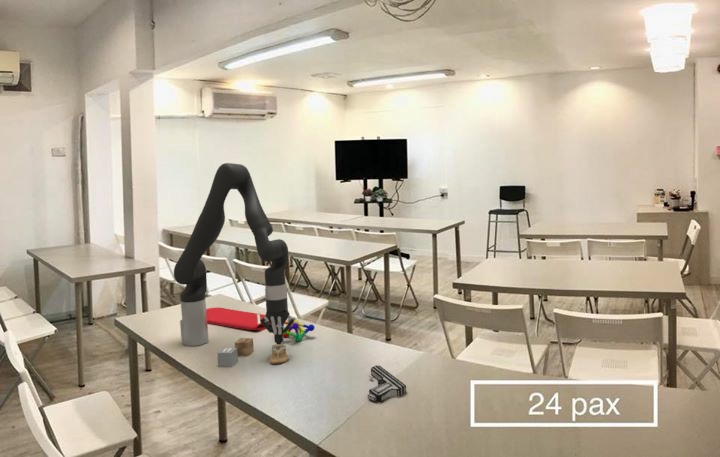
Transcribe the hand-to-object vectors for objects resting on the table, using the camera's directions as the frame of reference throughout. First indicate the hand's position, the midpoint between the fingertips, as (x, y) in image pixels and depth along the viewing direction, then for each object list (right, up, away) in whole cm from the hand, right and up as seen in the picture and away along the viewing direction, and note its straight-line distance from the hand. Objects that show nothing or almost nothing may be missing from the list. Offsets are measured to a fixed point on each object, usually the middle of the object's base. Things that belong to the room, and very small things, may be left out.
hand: (279, 343), depth 184 cm
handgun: (+34, -8, -27) cm, 44 cm away
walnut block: (-13, -5, +5) cm, 15 cm away
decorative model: (+3, -2, +19) cm, 20 cm away
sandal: (0, -5, +1) cm, 5 cm away
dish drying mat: (-27, -1, +44) cm, 52 cm away
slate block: (-17, -6, -5) cm, 19 cm away
